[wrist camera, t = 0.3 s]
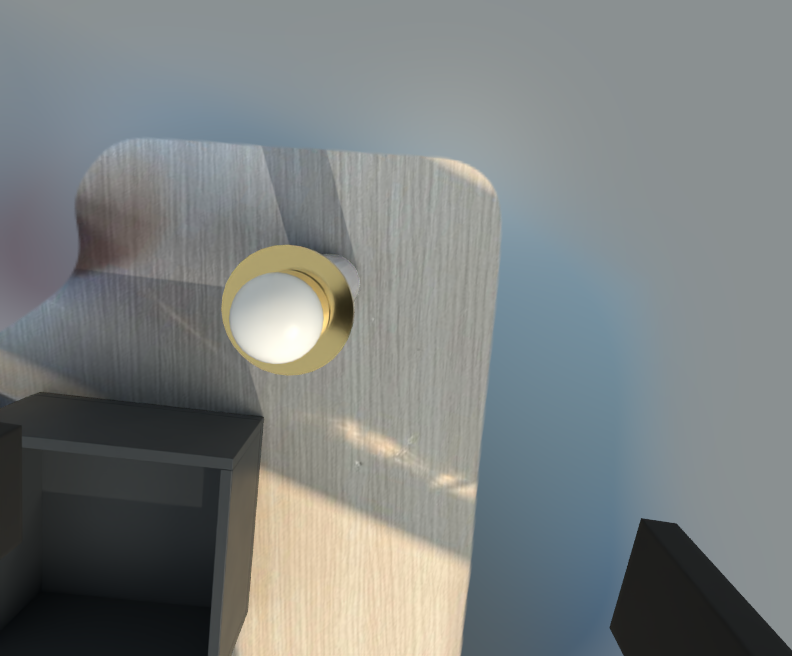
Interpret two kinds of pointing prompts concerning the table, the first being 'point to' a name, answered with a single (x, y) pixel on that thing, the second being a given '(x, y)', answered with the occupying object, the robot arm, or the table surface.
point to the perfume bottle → (290, 308)
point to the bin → (130, 529)
